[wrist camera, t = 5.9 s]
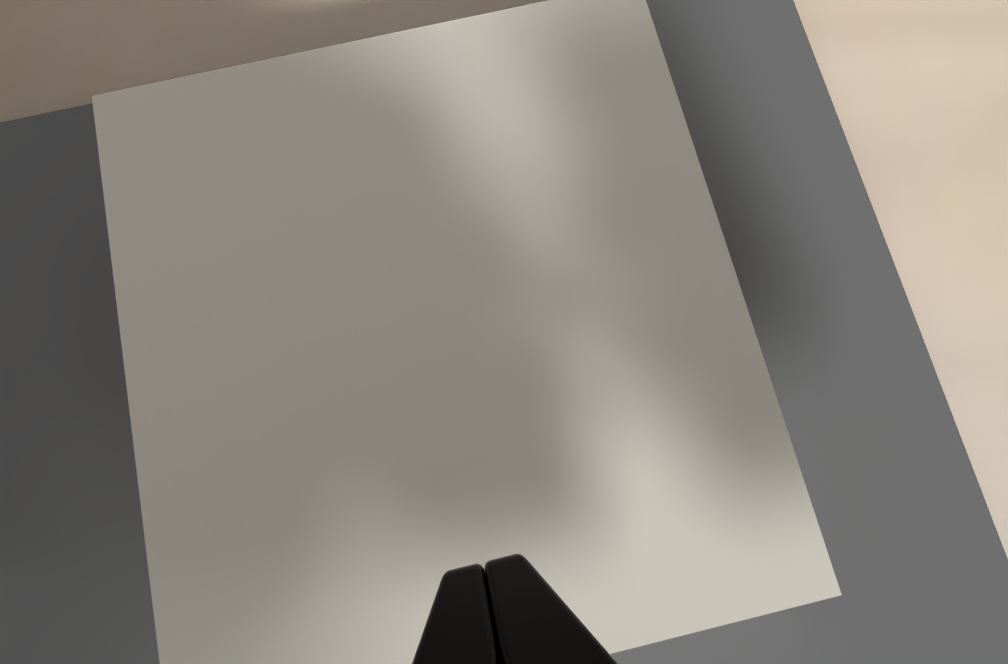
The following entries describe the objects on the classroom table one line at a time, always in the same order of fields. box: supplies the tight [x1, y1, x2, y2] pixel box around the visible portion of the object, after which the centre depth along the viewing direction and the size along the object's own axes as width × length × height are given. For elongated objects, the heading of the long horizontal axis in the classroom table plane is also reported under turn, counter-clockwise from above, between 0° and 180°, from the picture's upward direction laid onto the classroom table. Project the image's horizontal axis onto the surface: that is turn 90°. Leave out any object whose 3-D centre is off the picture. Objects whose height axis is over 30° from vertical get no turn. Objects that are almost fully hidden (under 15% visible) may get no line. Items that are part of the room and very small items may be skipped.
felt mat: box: [0, 0, 1008, 664], centre depth 15 cm, size 22×18×1 cm
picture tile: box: [92, 0, 842, 664], centre depth 15 cm, size 2×10×11 cm
